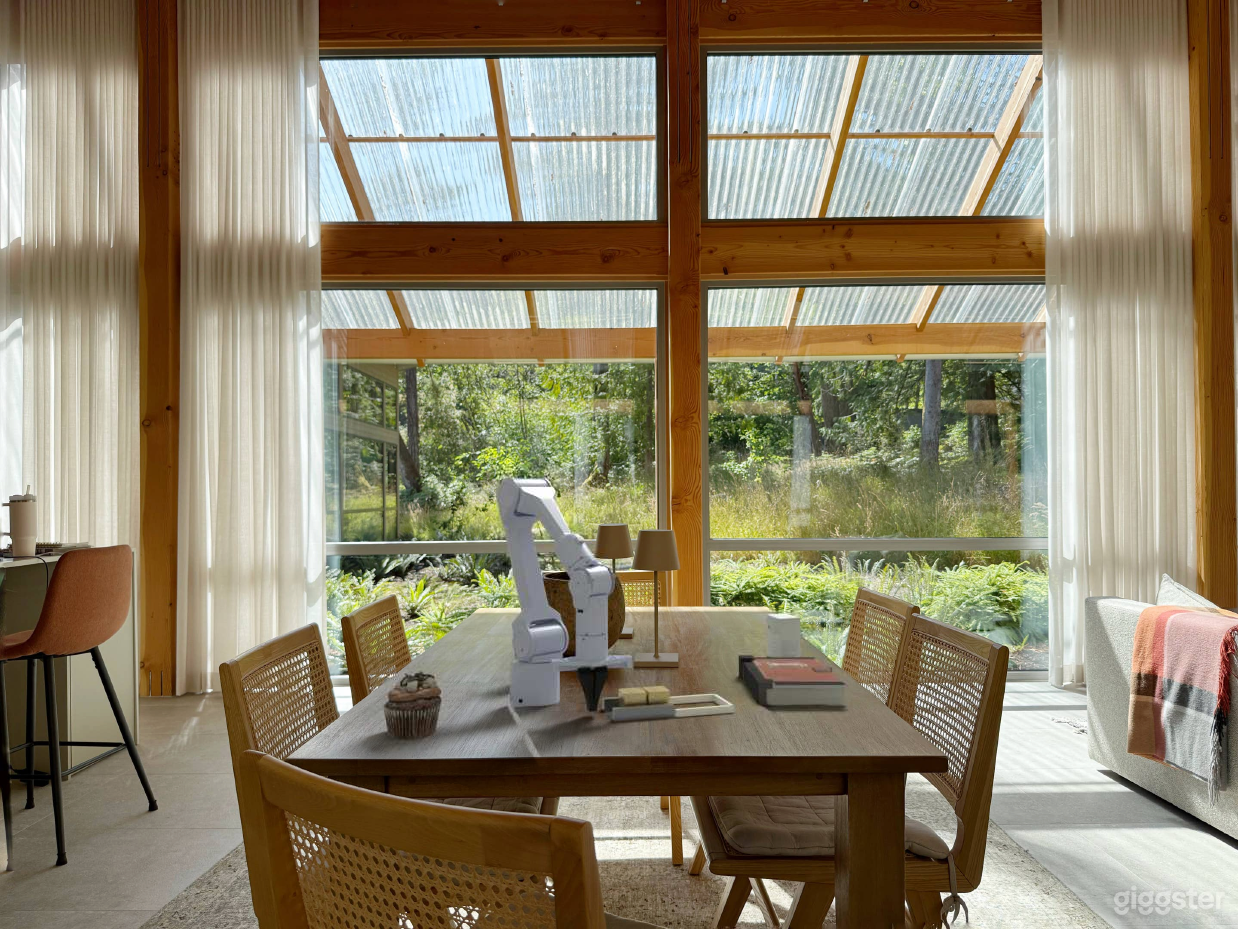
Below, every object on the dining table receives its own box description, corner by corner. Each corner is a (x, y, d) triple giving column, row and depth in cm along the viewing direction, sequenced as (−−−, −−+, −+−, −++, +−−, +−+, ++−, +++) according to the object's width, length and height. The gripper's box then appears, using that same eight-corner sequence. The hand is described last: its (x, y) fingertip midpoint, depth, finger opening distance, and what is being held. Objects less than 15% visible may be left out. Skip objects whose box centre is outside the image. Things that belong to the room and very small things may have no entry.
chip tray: (676, 722, 145) (676, 710, 145) (660, 709, 153) (660, 697, 154) (734, 717, 147) (734, 705, 148) (715, 705, 156) (715, 693, 156)
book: (850, 709, 155) (850, 682, 155) (758, 709, 155) (758, 682, 155) (817, 677, 181) (816, 655, 182) (738, 677, 181) (738, 655, 182)
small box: (801, 661, 197) (801, 617, 197) (780, 662, 195) (779, 618, 196) (787, 655, 204) (786, 612, 205) (766, 656, 203) (766, 613, 204)
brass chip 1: (624, 716, 145) (624, 693, 145) (618, 710, 149) (618, 688, 149) (646, 715, 146) (646, 692, 146) (639, 709, 150) (639, 687, 150)
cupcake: (414, 721, 146) (415, 665, 146) (452, 730, 140) (453, 672, 141) (370, 734, 138) (371, 675, 138) (409, 744, 132) (409, 682, 133)
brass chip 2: (648, 714, 146) (648, 692, 146) (642, 709, 150) (642, 687, 150) (670, 713, 147) (669, 690, 147) (663, 707, 151) (662, 685, 151)
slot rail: (614, 726, 142) (614, 709, 142) (602, 714, 150) (602, 697, 150) (674, 722, 145) (673, 705, 145) (659, 710, 153) (659, 693, 153)
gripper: (556, 639, 140) (556, 719, 140) (637, 635, 144) (637, 713, 143) (548, 632, 147) (548, 708, 146) (626, 628, 151) (626, 703, 150)
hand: (591, 710), depth 145 cm, fingers closed
